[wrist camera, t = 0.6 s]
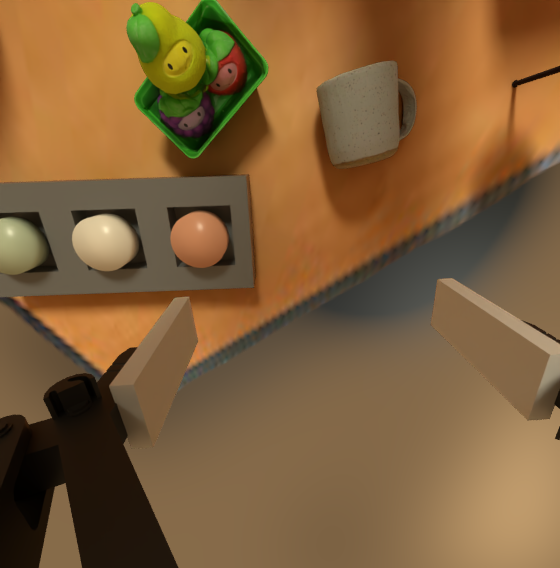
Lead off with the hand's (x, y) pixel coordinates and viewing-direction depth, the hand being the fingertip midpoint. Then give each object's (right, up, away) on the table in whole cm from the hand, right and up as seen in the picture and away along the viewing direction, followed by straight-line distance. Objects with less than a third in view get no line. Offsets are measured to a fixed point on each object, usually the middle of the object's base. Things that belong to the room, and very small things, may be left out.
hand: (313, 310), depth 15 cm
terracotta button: (-11, +7, +18) cm, 22 cm away
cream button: (-21, +7, +18) cm, 29 cm away
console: (-21, +8, +21) cm, 31 cm away
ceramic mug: (+7, +20, +17) cm, 28 cm away
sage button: (-32, +6, +18) cm, 37 cm away
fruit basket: (-10, +22, +16) cm, 29 cm away
